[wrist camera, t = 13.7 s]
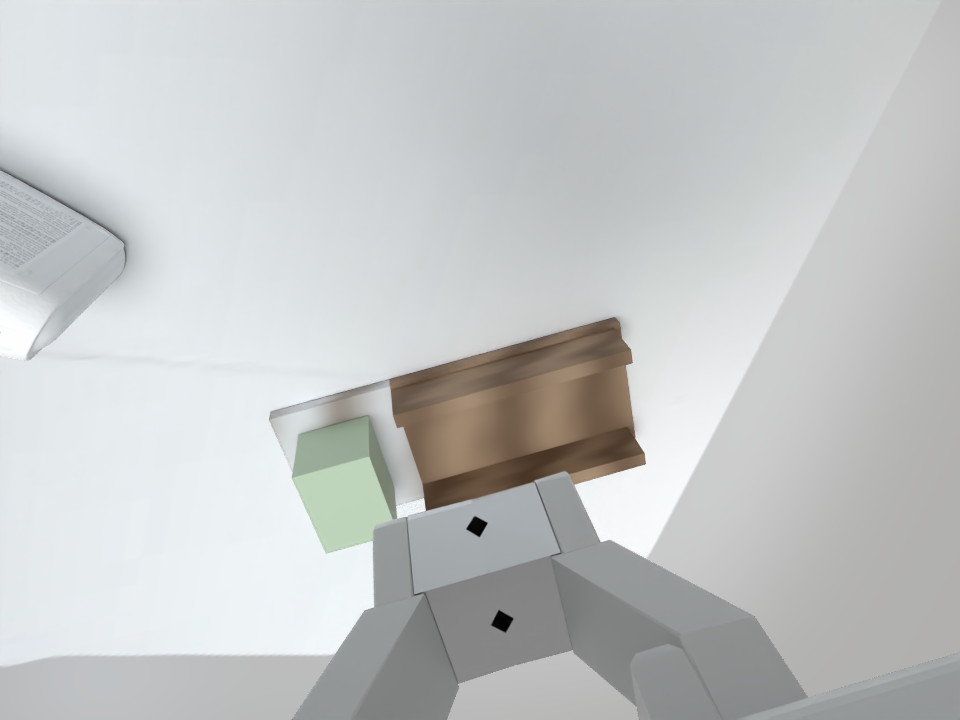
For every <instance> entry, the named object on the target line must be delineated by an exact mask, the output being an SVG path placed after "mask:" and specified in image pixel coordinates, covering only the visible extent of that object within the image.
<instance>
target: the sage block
mask: <svg viewBox="0 0 960 720" xmlns="http://www.w3.org/2000/svg"><path fill="white" fill-rule="evenodd" d="M292 479H293V482H294V484H295V486H296V488H297V490H298V493H299V495H300V497H301V499H302V502H303V504H304V506H305V508H306V510H307V513H308V515H309V517H310V519H311V521H312V524H313V526H314V528H315V530H316V533H317V535H318V537H319V539H320V541H321V544H322V546H323V548H324V550H325V552H326V554H327V553H330V552H334V551H337V550H341V549H344V548H348V547H352V546H355V545H359V544H362V543H366V542H369V541H373V530H374V527H375V525H377V524H380V523H384V522H388V521H392V520H395V519H397V514H396V500H395V488H394V485H393V482H392V479H391V477H390V474H389V471H388V468H387V466H386V463H385V460H384V457H383V454H382V452H381V449H380V446H379V443H378V441H377V438H376V435H375V432H374V430H373V427H372V424H371V421H370V419H369V416H364V417H361V418H357V419H353V420H350V421H346V422H342V423H339V424H335V425H332V426H328V427H324V428H321V429H317V430H314V431H310V432H306V433H303V434H299V435H298V440H297V447H296V454H295V460H294V467H293V474H292Z"/></svg>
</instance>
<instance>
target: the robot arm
mask: <svg viewBox="0 0 960 720" xmlns="http://www.w3.org/2000/svg"><path fill="white" fill-rule="evenodd" d="M373 572H374V608H371V609H368V610H365V611H364V612H363V613H362V615H361V616H360V618H359V619H358V621H357V622H356V624H355V625H354V627H353V628H352V630H351V631H350V633H349V634H348V636H347V637H346V639H345V640H344V642H343V643H342V645H341V646H340V648H339V649H338V651H337V652H336V654H335V655H334V657H333V658H332V660H331V661H330V663H329V664H328V666H327V667H326V669H325V670H324V672H323V673H322V675H321V676H320V678H319V679H318V681H317V682H316V684H315V685H314V687H313V688H312V690H311V691H310V693H309V694H308V696H307V697H306V699H305V700H304V702H303V703H302V705H301V706H300V708H299V709H298V711H297V712H296V714H295V715H294V717H293V718H292V720H447V718H448V715H449V712H450V710H451V707H452V704H453V702H454V699H455V697H456V694H457V691H458V689H459V686H458V684H459V683H462V682H465V681H468V680H471V679H474V678H477V677H480V676H483V675H486V674H490V673H493V672H496V671H499V670H502V669H505V668H508V667H511V666H514V665H518V664H521V663H526V662H529V661H533V660H537V659H540V658H545V657H549V656H552V655H556V654H560V653H564V652H568V651H571V650H573V652H574V654H576V655H577V656H578V657H579V658H580V659H581V660H583V661H584V662H585V663H586V664H587V665H588V666H590V667H591V668H592V669H593V670H594V671H595V672H597V673H598V674H599V675H600V676H601V677H602V678H604V679H605V680H606V681H607V682H608V683H609V684H611V685H612V686H613V687H614V688H615V689H616V690H618V691H619V692H620V693H621V694H623V695H624V696H625V697H626V698H627V699H628V700H629V701H631V702H632V703H633V704H634V705H635V706H636V707H637V711H638V716H639V720H960V652H959V653H956V654H952V655H949V656H945V657H942V658H939V659H935V660H932V661H928V662H925V663H922V664H918V665H916V666H912V667H909V668H905V669H902V670H899V671H895V672H892V673H888V674H886V675H882V676H878V677H875V678H872V679H869V680H865V681H862V682H858V683H855V684H852V685H848V686H845V687H841V688H838V689H835V690H831V691H829V692H825V693H821V694H818V695H815V696H811V697H808V696H807V695H806V693H805V692H804V690H803V689H802V687H801V686H800V684H799V683H798V681H797V680H796V678H795V677H794V675H793V674H792V672H791V671H790V669H789V668H788V666H787V665H786V663H785V662H784V660H783V659H782V657H781V656H780V654H779V652H778V651H777V649H776V648H775V647H774V645H773V643H772V642H771V640H770V639H769V637H768V636H767V634H766V633H765V631H764V630H763V628H762V627H761V625H760V624H759V622H758V621H757V619H756V618H755V616H753V615H751V614H749V613H748V612H746V611H744V610H742V609H740V608H738V607H736V606H734V605H732V604H730V603H729V602H727V601H725V600H723V599H721V598H719V597H717V596H715V595H714V594H712V593H709V592H708V591H706V590H704V589H702V588H700V587H698V586H696V585H695V584H693V583H691V582H689V581H687V580H685V579H683V578H681V577H680V576H678V575H676V574H674V573H672V572H670V571H668V570H666V569H664V568H663V567H661V566H659V565H657V564H655V563H653V562H651V561H649V560H647V559H646V558H644V557H642V556H640V555H638V554H636V553H634V552H632V551H630V550H629V549H627V548H625V547H623V546H621V545H619V544H617V543H615V542H613V541H612V540H608V541H604V542H600V540H599V538H598V536H597V533H596V531H595V529H594V527H593V525H592V523H591V520H590V518H589V516H588V514H587V512H586V510H585V508H584V505H583V503H582V501H581V499H580V497H579V495H578V492H577V490H576V488H575V486H574V484H573V482H572V480H571V477H570V475H569V474H568V473H567V472H565V471H564V472H560V473H557V474H554V475H551V476H547V477H544V478H541V479H538V480H534V482H531V483H527V484H524V485H520V486H517V487H514V488H510V489H507V490H503V491H500V492H496V493H493V494H489V495H486V496H482V497H479V498H475V499H472V500H467V501H463V502H459V503H455V504H451V505H448V506H444V507H440V508H436V509H432V510H428V511H424V512H421V513H417V514H413V515H409V516H408V517H403V518H399V519H395V520H392V521H388V522H384V523H380V524H377V525H375V527H374V530H373Z"/></svg>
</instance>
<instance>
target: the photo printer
mask: <svg viewBox="0 0 960 720" xmlns="http://www.w3.org/2000/svg"><path fill="white" fill-rule="evenodd" d="M124 246H125V245H124V243H123V242H122V241H121V240H119V239H118V238H117V237H116V236H114V235H113V234H112V233H110V232H109V231H107V230H106V229H104V228H103V227H101V226H99V225H98V224H96V223H94V222H92V221H91V220H89V219H87V218H86V217H84V216H82V215H81V214H79V213H77V212H75V211H73V210H72V209H70V208H68V207H67V206H65V205H63V204H61V203H59V202H57V201H56V200H54V199H52V198H50V197H49V196H47V195H45V194H43V193H41V192H40V191H38V190H36V189H34V188H32V187H30V186H29V185H27V184H25V183H23V182H21V181H20V180H18V179H16V178H14V177H13V176H11V175H9V174H7V173H5V172H3V171H1V170H0V356H1V357H6V358H11V359H17V360H24V361H27V360H30V359H32V358H33V357H34V356H35V355H36V354H37V353H38V352H39V351H40V350H41V349H42V348H43V347H45V346H47V345H49V344H50V343H52V342H53V341H54V340H56V339H57V338H58V337H59V336H60V335H61V334H62V333H63V332H64V331H65V330H66V329H67V327H68V326H69V325H70V324H71V323H72V322H73V321H74V320H75V319H76V318H77V317H78V316H79V315H80V314H81V313H82V312H84V311H85V310H86V309H87V308H88V307H89V306H90V305H91V304H92V303H93V302H94V301H95V300H96V299H97V298H98V297H99V296H100V295H101V294H102V293H103V292H104V291H105V290H106V289H107V288H108V287H109V286H110V285H111V284H112V283H113V281H114V280H115V279H116V278H117V277H118V276H119V275H120V274H121V272H122V270H123V268H124V265H125V252H124V249H123V247H124Z"/></svg>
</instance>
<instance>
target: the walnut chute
mask: <svg viewBox="0 0 960 720" xmlns="http://www.w3.org/2000/svg"><path fill="white" fill-rule="evenodd" d="M631 363H633V362H632V354H631V349H630V348H629V347H628V346H627V344H626V343H625V342H624V341H623V340H622V337H621V329H620V323H619V322H618V321H617V319H616V318H611V319H607V320H604V321H600V322H597V323H593V324H589V325H586V326H582V327H578V328H575V329H571V330H567V331H564V332H560V333H557V334H553V335H549V336H546V337H542V338H538V339H535V340H531V341H527V342H524V343H520V344H517V345H513V346H509V347H506V348H502V349H498V350H495V351H491V352H487V353H484V354H480V355H477V356H473V357H469V358H466V359H462V360H458V361H455V362H451V363H448V364H444V365H440V366H437V367H433V368H429V369H426V370H422V371H418V372H415V373H411V374H408V375H404V376H400V377H397V378H393V379H389V380H386V381H382V382H378V383H375V384H371V385H368V386H364V387H360V388H357V389H353V390H349V391H346V392H342V393H338V394H335V395H331V396H328V397H324V398H320V399H317V400H313V401H309V402H306V403H302V404H298V405H295V406H291V407H288V408H284V409H280V410H277V411H273V412H271V413H270V417H269V421H270V423H271V426H272V428H273V430H274V432H275V434H276V437H277V439H278V441H279V443H280V446H281V448H282V450H283V452H284V455H285V457H286V459H287V461H288V463H289V466H290V468H291V470H292V472H293V467H294V460H295V454H296V447H297V440H298V435H299V434H303V433H306V432H310V431H314V430H317V429H321V428H324V427H328V426H332V425H335V424H339V423H342V422H346V421H350V420H353V419H357V418H361V417H364V416H369V419H370V421H371V424H372V427H373V430H374V432H375V435H376V438H377V441H378V443H379V446H380V449H381V452H382V454H383V457H384V460H385V463H386V466H387V468H388V471H389V474H390V477H391V479H392V482H393V485H394V488H395V500H396V506H397V505H401V504H404V503H408V502H411V501H415V500H419V499H422V498H424V499H425V507H426V511H428V510H432V509H436V508H440V507H444V506H448V505H451V504H455V503H459V502H463V501H467V500H472V499H475V498H479V497H482V496H486V495H489V494H493V493H496V492H500V491H503V490H507V489H510V488H514V487H517V486H520V485H524V484H527V483H531V482H534V480H538V479H541V478H544V477H547V476H551V475H554V474H557V473H560V472H564V471H565V472H567V473H568V474H569V475H570V477H571V480H572V482H573V484H578V483H581V482H585V481H588V480H592V479H595V478H599V477H602V476H606V475H609V474H613V473H616V472H620V471H624V470H627V469H631V468H634V467H638V466H641V465H645V464H646V461H645V453H644V452H643V450H642V449H641V447H640V446H639V444H638V442H637V441H636V439H635V431H634V424H633V417H632V410H631V402H630V395H629V388H628V380H627V373H626V366H625V365H627V364H631Z"/></svg>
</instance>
